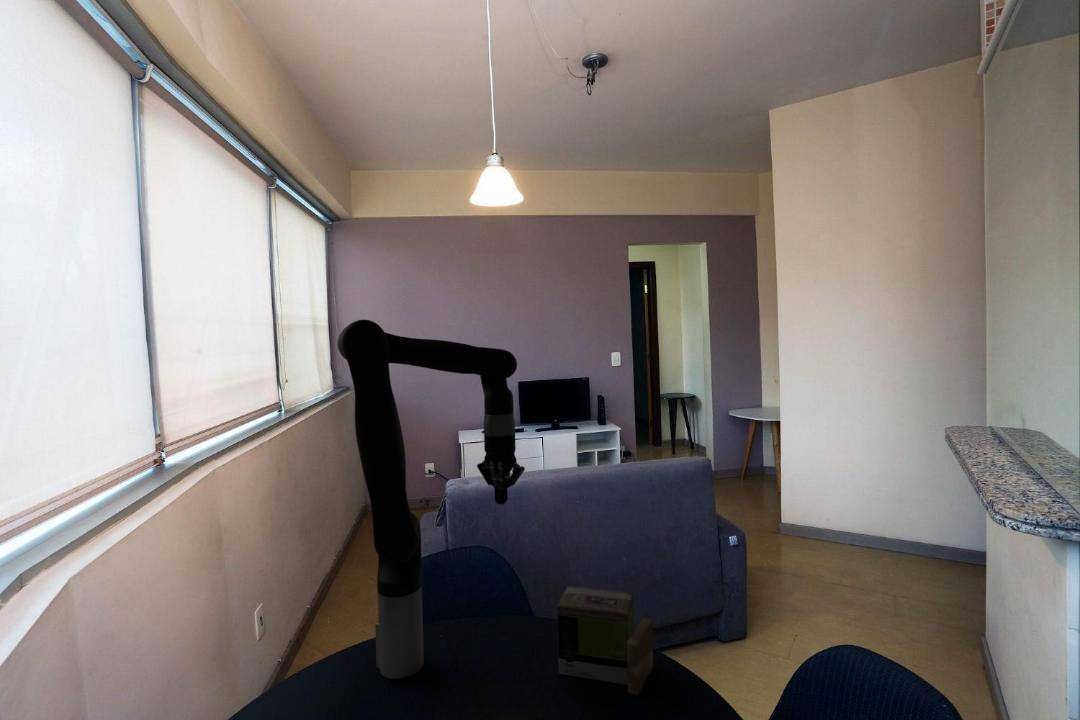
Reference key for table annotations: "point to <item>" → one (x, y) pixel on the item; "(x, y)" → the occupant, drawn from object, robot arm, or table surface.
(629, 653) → the birch board
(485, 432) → the robot arm
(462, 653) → the table surface
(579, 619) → the tea box
